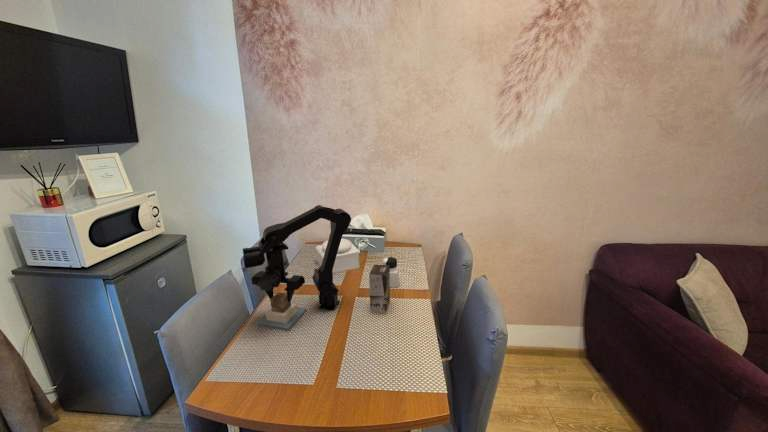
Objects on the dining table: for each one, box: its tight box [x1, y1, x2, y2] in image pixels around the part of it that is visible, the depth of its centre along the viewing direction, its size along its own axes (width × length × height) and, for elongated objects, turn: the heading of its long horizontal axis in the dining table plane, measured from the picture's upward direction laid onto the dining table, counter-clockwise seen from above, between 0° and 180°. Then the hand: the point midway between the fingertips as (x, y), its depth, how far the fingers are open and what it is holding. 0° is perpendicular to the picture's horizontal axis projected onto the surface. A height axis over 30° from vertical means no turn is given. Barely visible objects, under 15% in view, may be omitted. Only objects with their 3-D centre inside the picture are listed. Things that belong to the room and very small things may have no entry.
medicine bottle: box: [382, 256, 400, 288], centre depth 144 cm, size 7×7×12 cm
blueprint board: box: [256, 303, 308, 332], centre depth 122 cm, size 13×13×4 cm
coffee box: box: [368, 264, 391, 315], centre depth 126 cm, size 9×6×16 cm
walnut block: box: [269, 292, 292, 313], centre depth 121 cm, size 5×5×5 cm
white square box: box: [315, 237, 361, 274], centre depth 164 cm, size 18×18×16 cm
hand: (280, 300), depth 120 cm, fingers open, 7 cm apart
